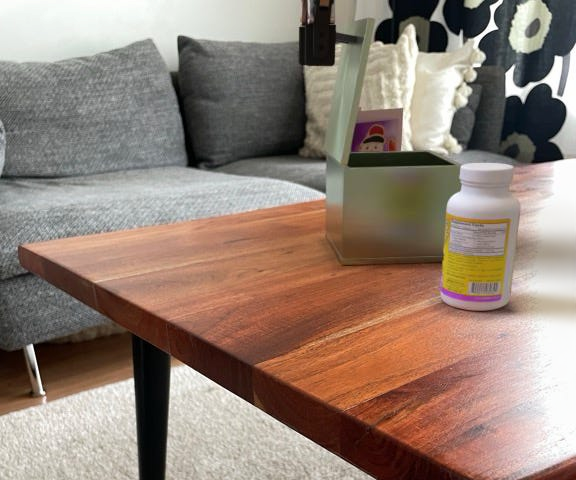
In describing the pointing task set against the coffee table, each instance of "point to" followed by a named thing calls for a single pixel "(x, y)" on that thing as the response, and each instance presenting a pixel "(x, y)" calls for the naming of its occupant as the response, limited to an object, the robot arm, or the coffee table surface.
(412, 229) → the bin
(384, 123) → the purple cartoon box
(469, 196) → the supplement bottle
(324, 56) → the robot arm
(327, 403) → the coffee table surface
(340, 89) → the bin lid
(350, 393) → the coffee table surface
